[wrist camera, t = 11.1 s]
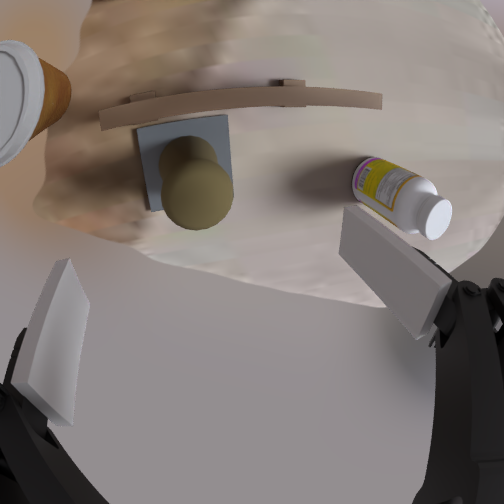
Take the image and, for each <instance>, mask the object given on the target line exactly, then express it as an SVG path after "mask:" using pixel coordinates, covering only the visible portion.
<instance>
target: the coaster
mask: <svg viewBox="0 0 504 504" xmlns="http://www.w3.org/2000/svg"><path fill="white" fill-rule="evenodd" d="M137 134H138V141H139V148H140V154H141V160H142V166H143V171H144V177H145V182H146V187H147V193H148V198H149V202H150V207H151V212H155V211H160V210H164V209H163V207H162V202H161V196H160V195H161V189H162V183H163V180H162V178H161V176H160V173H159V165H158V164H159V159H160V155H161V153H162V151H163V150H164V148H165V147H166V146H167V145H168V144H169V143H170V142H171V141H172V140H175V139H177V138H179V137H182V136H190V135H191V136H196V137H200V138H202V139H204V140H206V141H207V142H208V143H209V144H210V145H211V146H212V147H213V148H214V151H215V153H216V156H217V160H218V164H219V165H220V166H221V167H222V168H223V169H224V170H225V171H226V172H227V174H228V175H229V177H230V179H231V182H232V184H233V180H232V167H231V154H230V141H229V127H228V115H218V116H209V117H201V118H194V119H187V120H180V121H174V122H168V123H162V124H157V125H152V126H147V127H142V128H137ZM233 197H234V192H233Z"/></svg>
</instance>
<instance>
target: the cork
mask: <svg viewBox="0 0 504 504" xmlns="http://www.w3.org/2000/svg"><path fill="white" fill-rule="evenodd" d="M158 165H159V173H160V176H161V178H162V180H163V183H162V189H161V195H160V196H161V202H162V207H163V209H164V211H165V212H166V214H167V216H168V217H169V218H170V219H171V220H172V221H173V222H174V223H175V224H176V225H178V226H180V227H182V228H185V229H189V230H202V229H207V228H210V227H212V226H214V225H216V224H218V223H219V222H220V221H221V220H222V219H223V218H225V216H226V215H227V213H228V212H229V210H230V208H231V205H232V201H233V184H232V182H231V179H230V177H229V175H228V174H227V172H226V171H225V170H224V169H223V168H222V167H221V166H220V165H219V164H218V160H217V156H216V153H215V151H214V148H213V147H212V146H211V145H210V144H209V143H208V142H207V141H206V140H204V139H202V138H200V137H196V136H191V135H190V136H182V137H179V138H177V139H175V140H172V141H171V142H170V143H169V144H168V145H167V146H166V147H165V148H164V150H163V151H162V153H161V155H160V159H159V164H158Z"/></svg>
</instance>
